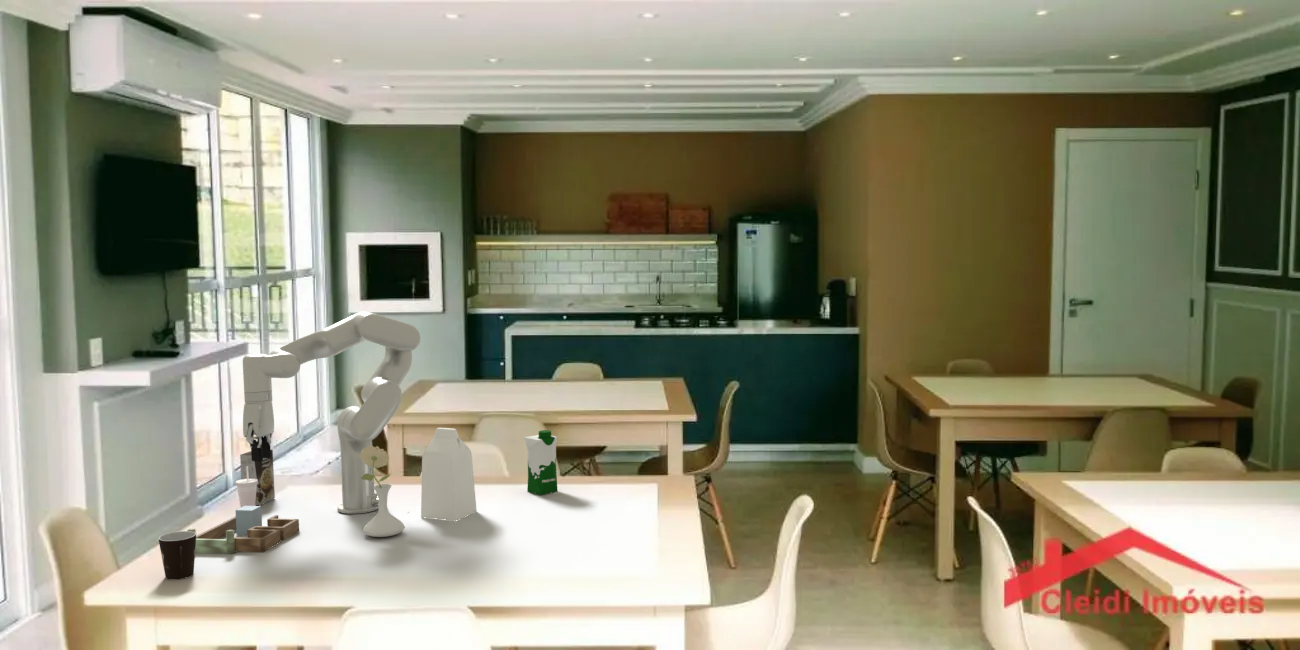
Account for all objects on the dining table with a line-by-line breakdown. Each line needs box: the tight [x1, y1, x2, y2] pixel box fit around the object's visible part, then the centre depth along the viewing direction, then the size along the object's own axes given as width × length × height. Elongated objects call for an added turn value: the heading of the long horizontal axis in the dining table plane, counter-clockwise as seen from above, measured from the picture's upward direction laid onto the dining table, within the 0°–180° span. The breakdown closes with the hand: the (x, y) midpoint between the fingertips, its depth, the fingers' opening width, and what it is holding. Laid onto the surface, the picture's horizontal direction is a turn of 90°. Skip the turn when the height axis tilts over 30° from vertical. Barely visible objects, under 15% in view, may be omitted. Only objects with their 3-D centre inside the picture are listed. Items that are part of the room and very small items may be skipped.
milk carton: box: [524, 429, 559, 496], centre depth 345 cm, size 9×9×20 cm
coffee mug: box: [157, 530, 197, 580], centre depth 264 cm, size 12×9×10 cm
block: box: [235, 505, 263, 535], centre depth 304 cm, size 5×5×7 cm
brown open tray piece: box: [186, 514, 300, 555], centre depth 296 cm, size 20×26×6 cm
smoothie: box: [235, 466, 258, 508], centre depth 326 cm, size 6×6×14 cm
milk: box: [420, 427, 478, 522], centre depth 318 cm, size 12×12×26 cm
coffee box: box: [239, 449, 276, 506], centre depth 338 cm, size 9×6×16 cm
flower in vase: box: [360, 445, 406, 538], centre depth 298 cm, size 13×11×25 cm
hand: (261, 458), depth 311 cm, fingers open, 3 cm apart
